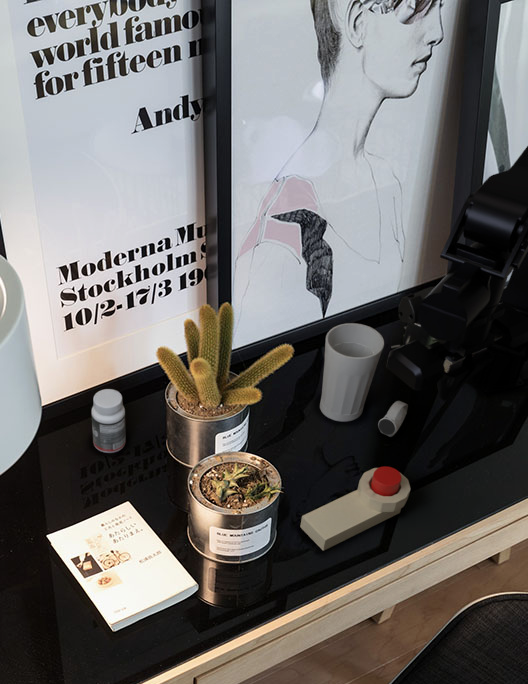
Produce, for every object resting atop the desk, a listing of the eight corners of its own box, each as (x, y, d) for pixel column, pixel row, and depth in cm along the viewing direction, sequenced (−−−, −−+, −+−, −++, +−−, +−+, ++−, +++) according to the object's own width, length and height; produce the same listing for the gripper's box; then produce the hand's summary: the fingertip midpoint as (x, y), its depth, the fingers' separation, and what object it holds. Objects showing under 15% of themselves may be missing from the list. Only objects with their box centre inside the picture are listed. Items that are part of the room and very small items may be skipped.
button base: (382, 482, 131) (388, 461, 128) (413, 511, 127) (420, 490, 124) (296, 523, 127) (300, 502, 123) (326, 554, 123) (331, 534, 120)
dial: (422, 332, 146) (429, 306, 143) (434, 348, 144) (441, 321, 140) (398, 337, 146) (405, 310, 142) (409, 353, 143) (416, 326, 140)
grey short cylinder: (374, 437, 137) (380, 410, 133) (390, 418, 139) (397, 392, 135) (392, 445, 135) (399, 418, 131) (408, 426, 138) (416, 399, 134)
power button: (386, 473, 127) (389, 462, 125) (404, 490, 125) (407, 479, 123) (365, 483, 126) (367, 472, 124) (382, 500, 124) (385, 489, 122)
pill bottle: (93, 432, 138) (90, 386, 132) (125, 431, 138) (124, 386, 132) (93, 454, 136) (90, 409, 129) (125, 453, 136) (124, 408, 129)
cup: (366, 391, 143) (382, 324, 133) (369, 426, 138) (386, 359, 128) (313, 388, 143) (325, 321, 134) (314, 424, 139) (326, 357, 129)
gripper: (486, 238, 118) (455, 341, 131) (369, 286, 113) (348, 389, 125) (552, 282, 112) (513, 386, 125) (432, 335, 107) (404, 438, 119)
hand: (443, 398), depth 124 cm, fingers closed
